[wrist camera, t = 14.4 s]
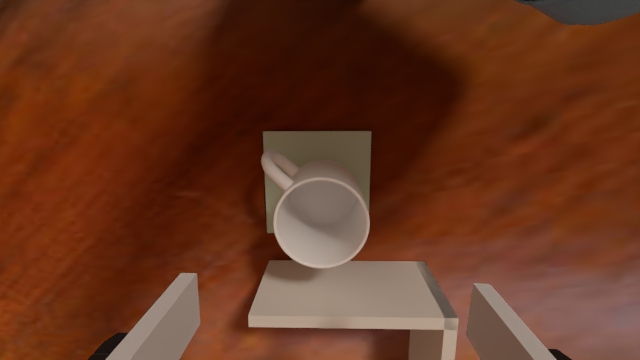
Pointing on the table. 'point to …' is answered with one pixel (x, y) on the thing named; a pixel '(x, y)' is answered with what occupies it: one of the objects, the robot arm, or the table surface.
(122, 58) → the table surface
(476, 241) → the table surface
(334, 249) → the cup
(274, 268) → the cubby
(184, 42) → the table surface
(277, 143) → the mat
